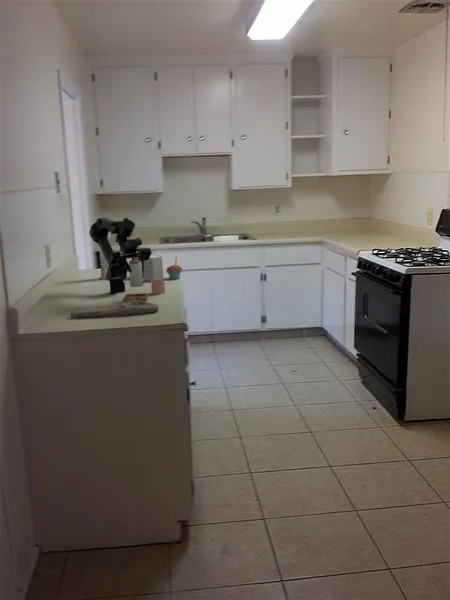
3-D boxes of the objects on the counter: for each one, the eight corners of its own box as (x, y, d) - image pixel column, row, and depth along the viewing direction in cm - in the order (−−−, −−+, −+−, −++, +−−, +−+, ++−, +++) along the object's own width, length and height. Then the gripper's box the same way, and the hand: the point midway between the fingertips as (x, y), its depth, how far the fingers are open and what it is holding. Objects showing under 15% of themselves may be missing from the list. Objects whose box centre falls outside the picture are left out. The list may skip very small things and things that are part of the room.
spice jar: (128, 287, 251) (127, 262, 249) (131, 284, 257) (130, 259, 254) (141, 287, 251) (139, 261, 248) (144, 284, 256) (142, 259, 254)
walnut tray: (123, 302, 250) (123, 298, 250) (126, 298, 260) (125, 294, 260) (146, 301, 251) (146, 297, 251) (148, 297, 261) (147, 293, 260)
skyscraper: (98, 277, 316) (94, 227, 310) (113, 276, 319) (109, 226, 314) (101, 280, 309) (97, 228, 303) (116, 278, 312) (112, 227, 306)
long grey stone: (72, 318, 232) (70, 325, 223) (70, 305, 231) (68, 312, 222) (158, 307, 238) (160, 313, 228) (156, 295, 236) (158, 301, 227)
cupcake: (175, 276, 313) (174, 254, 310) (185, 277, 307) (184, 255, 304) (163, 278, 307) (162, 256, 304) (173, 280, 301) (172, 257, 298)
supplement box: (154, 278, 309) (152, 255, 307) (163, 279, 305) (162, 255, 302) (144, 280, 304) (142, 256, 301) (153, 281, 299) (152, 257, 296)
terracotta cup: (151, 295, 264) (151, 282, 263) (152, 292, 270) (151, 280, 269) (164, 294, 265) (164, 281, 263) (165, 292, 270) (164, 279, 269)
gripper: (109, 233, 247) (121, 262, 240) (148, 230, 257) (161, 257, 250) (104, 250, 255) (115, 277, 249) (142, 246, 265) (154, 272, 258)
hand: (136, 271), depth 251 cm, fingers closed on spice jar, 6 cm apart
